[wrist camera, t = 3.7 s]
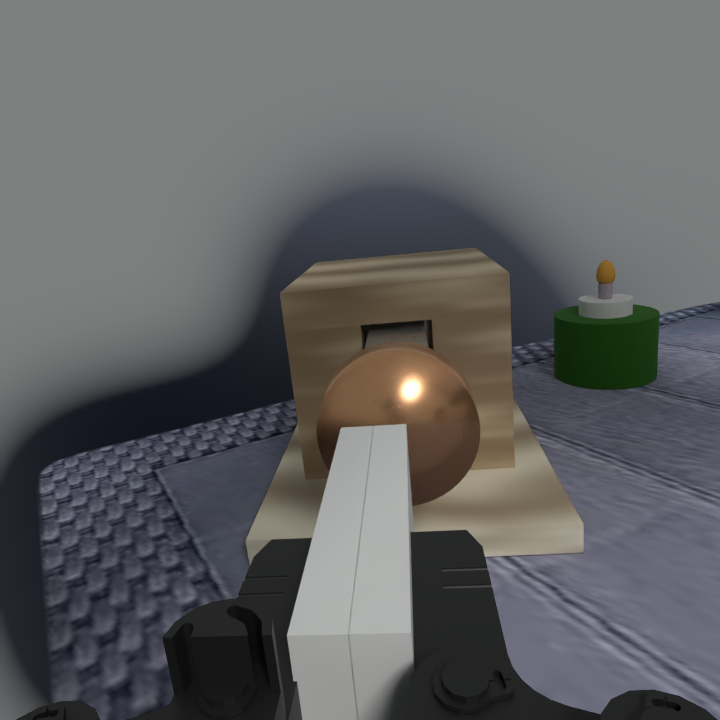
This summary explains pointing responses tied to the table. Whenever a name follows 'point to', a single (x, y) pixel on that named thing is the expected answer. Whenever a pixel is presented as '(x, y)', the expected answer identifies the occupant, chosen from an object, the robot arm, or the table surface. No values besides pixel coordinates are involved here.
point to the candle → (606, 339)
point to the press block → (471, 357)
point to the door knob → (406, 406)
